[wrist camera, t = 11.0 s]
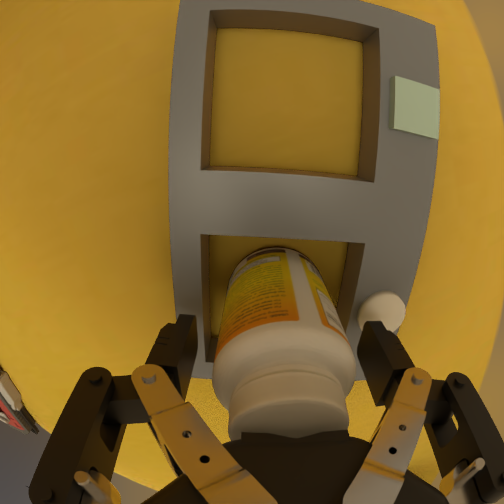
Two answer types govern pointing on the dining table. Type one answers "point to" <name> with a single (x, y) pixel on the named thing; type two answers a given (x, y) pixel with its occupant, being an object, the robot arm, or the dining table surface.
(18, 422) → the walkie-talkie
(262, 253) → the supplement bottle
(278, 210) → the grey flat frame
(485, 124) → the dining table surface
